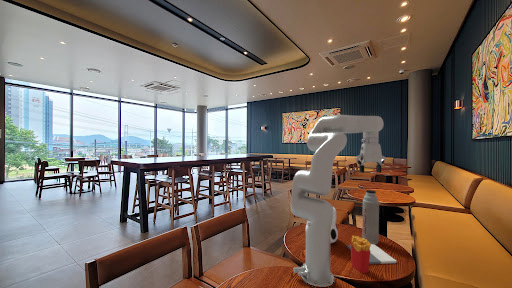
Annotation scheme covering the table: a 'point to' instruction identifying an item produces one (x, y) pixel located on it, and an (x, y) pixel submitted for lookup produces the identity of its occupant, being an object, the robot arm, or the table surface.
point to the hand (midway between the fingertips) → (370, 172)
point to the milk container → (333, 228)
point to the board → (378, 255)
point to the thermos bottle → (370, 217)
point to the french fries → (360, 254)
